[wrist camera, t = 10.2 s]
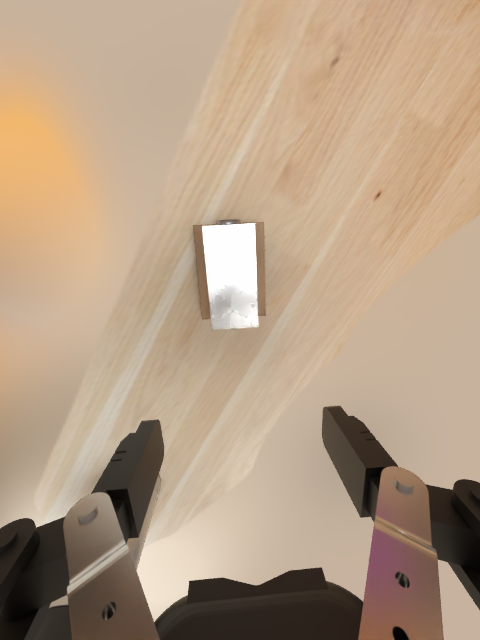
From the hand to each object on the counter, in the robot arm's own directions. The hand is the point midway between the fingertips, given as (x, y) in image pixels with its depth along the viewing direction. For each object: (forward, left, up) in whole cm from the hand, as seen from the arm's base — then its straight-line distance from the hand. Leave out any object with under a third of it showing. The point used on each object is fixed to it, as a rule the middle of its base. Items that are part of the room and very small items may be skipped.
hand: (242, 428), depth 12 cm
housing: (0, +5, -19) cm, 20 cm away
